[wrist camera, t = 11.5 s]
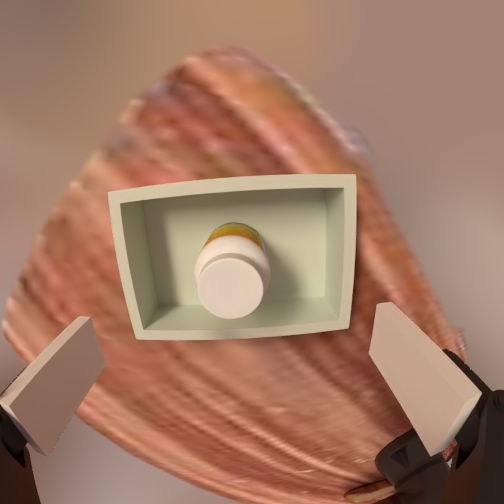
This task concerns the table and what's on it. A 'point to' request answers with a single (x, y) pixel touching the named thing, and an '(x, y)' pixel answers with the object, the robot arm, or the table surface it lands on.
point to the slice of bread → (369, 491)
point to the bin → (275, 241)
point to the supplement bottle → (232, 271)
